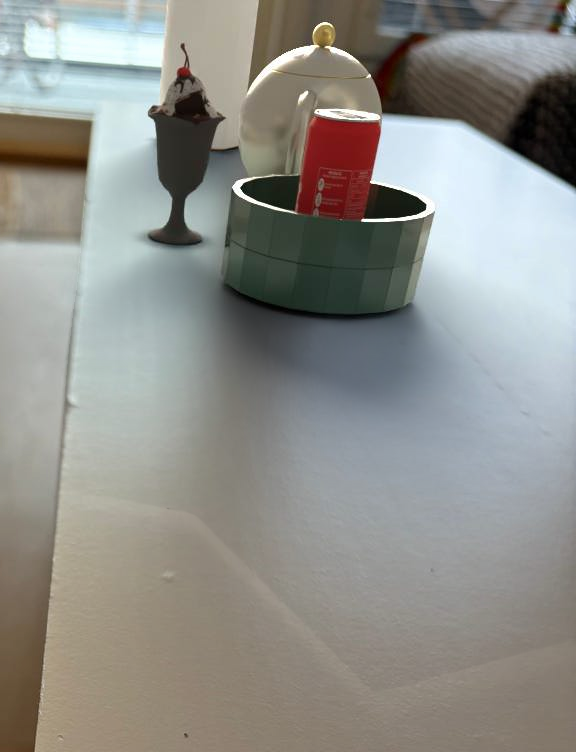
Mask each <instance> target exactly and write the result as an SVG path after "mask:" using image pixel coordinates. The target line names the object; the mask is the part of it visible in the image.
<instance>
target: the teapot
mask: <svg viewBox="0 0 576 752" xmlns="http://www.w3.org/2000/svg"><path fill="white" fill-rule="evenodd" d="M335 39H336V30H335V27H334V26H333V25H332V24H330V23H328V22H322V23H320V24H318V25H317V26H316V27H315V28H314V30H313V33H312V43H313V45H310V46H309V45H307V46H303V47H299V48H296V49H295V48H294V49H293V50H291V51H288V52H286V53H284V54H282V55H281V56H278V57H277V58H276V59H274V60H273V61H271V62H270V63H269V64H268V65H267V66H266V67H265V68H264V69H263V70H262V71H261V72H260V73H259V75H257V77H256V78H255V80H254V81H253V82H252V84H251V86H250V87H249V88H248V90H247V95H246V97H245V99H244V102H243V105H242V108H241V112H240V117H239V123H238V144H239V146H238V150H239V154H240V158H241V161H242V164H243V166H244V168H245V170H246V172H247V174H248V175H249V177H254V176H262V175H270V174H301V172H302V166H303V160H304V154H305V147H306V141H307V135H308V129H309V124H310V123H311V121H312V120H313V118H314V117H315V111H317V110H321V109H344V110H355V111H362V112H367V113H372V114H375V115H378V116H379V117H380V121H379V125H380V129H381V130H382V126H383V125H382V123H383V110H382V102H381V98H380V94H379V91H378V88H377V86H376V83H375V81H374V79H373V77H372V76H371V74H370V73H369V72H368V70H367V68H365V66H364V65H363V64H362V63H361V62H360V61H359V60H357V59H356V58H355V57H353V56H352V55H350V54H349V53H347V52H345V51H343V50H341V49H338V48H336V47H332V45H333V43H334V41H335Z"/></svg>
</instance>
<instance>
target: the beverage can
mask: <svg viewBox="0 0 576 752" xmlns="http://www.w3.org/2000/svg"><path fill="white" fill-rule="evenodd" d="M379 121H380V117H379V116H378V115H375V114H372V113H367V112H362V111H355V110H344V109H321V110H317V111H315V117H314V118H313V120H312V121H311V123H310V124H309V129H308V135H307V141H306V147H305V154H304V160H303V166H302V172H301V178H300V184H299V190H298V196H297V202H296V208H295V212H300V213H305V214H310V215H319V216H327V217H335V218H349V219H363V218H364V213H365V208H366V203H367V198H368V193H369V188H370V183H371V181H372V177H373V173H374V168H375V163H376V159H377V154H378V149H379V144H380V139H381V136H382V135H381V134H382V128H381V129H380V125H379Z"/></svg>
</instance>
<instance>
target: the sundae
mask: <svg viewBox="0 0 576 752" xmlns="http://www.w3.org/2000/svg"><path fill="white" fill-rule="evenodd" d="M180 47H181V49H182V50H183V52H184V53H185V55H186V60H185V64H184V67H181V68H179V69H178V70H177V78H176V79H175V80H174V81H173V82H172V83H171V85H170V86H169V88H168V91H167V94H166V97H165V101H164V102H163V103H162V104H161V105H159V104H158V105H157V104H153V105H151V107H150V108H149V109H148V111H147V116H148V117H149V118H150V119H151V120H152V121H153V123H154V129H155V137H156V138H155V139H156V165H157V166H156V167H157V176H158V181H159V182H160V184H161V185H162V187H163V188H164V189H165V191H167V193H168V194H169V196H170V197H171V209H170V214H169V217H168V220H167V222H166V223H165V224H164V225H163V226H162V227H157V228H154V229H151V230H150V231H149V232H148V234H147V235H148V236H149V238H151V239H152V240H154V241H156V242H161V243H163V244H164V243H165V244H173V245H192V244H196V243H199V242H201V241H202V240H203V236H202V234H201V233H199V232H197V231H195V230H191V229H190V228H189V227H188V225H187V223H186V219H185V218H186V217H185V208H186V207H185V206H186V199H187V198H188V196H189V195H190V194H192V193H193V192H195V191H196V190H197V189H198V188H199V187H200V186H201V184H203V182H204V178H205V175H206V172H207V168H208V166H209V165H208V164H209V160H210V156H211V151H212V150H211V147H212V143H213V139H214V136H215V132H216V129H217V126H218V124H219V123H220V122H221V121H223V120H225V119H226V117H224V116H222V114H221V113H218V112H217V111H216V109H215V108H214V106H213V105H212V104H211V102H210V101H209V100H208V97H207V95H206V90H205V87H204V85H203V83H202V82H201V81H200V80H199V79H198V78H197V77H195V76H194V75H192V74H191V72H190V70H189V59H188V55H187V52H186V50H185V44H184V43H182V44H181V46H180ZM186 64H187V67H186Z"/></svg>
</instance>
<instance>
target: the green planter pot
mask: <svg viewBox="0 0 576 752" xmlns="http://www.w3.org/2000/svg"><path fill="white" fill-rule="evenodd" d="M300 178H301V174H270V175H262V176H254V177H250V176H249V177H246V178H243V179H240V180H237V181H236V182H235V183H234V184H233V186H232V187H231V192H230V198H229V199H230V200H229V207H228V208H229V209H228V216H227V223H226V232H225V240H224V247H223V255H222V264H221V269H220V270H221V271H220V274H221V277H222V279H223V281H224V283H225V284H226V285H228V286H230V287H231V288H232V289H234V290H235V291H236V292H238V293H240V294H243V295H246V296H247V297H250V298H253V299H255V300H258V301H261V302H264V303H267V304H271V305H273V306H278V307H282V308H286V309H289V310H290V309H291V310H295V311H301V312H307V313H314V314H325V315H326V314H327V315H362V314H363V315H364V314H373V313H385V312H390V311H393V310H394V311H395V310H397V309H402V308H403V307H405V306H407V305H408V304H409V303H411V302H412V301H414V299H415V295H416V291H417V288H418V287H417V286H418V282H419V279H420V275H421V270H422V266H423V262H424V258H425V254H426V251H427V246H428V243H429V238H430V233H431V229H432V225H433V222H434V217H435V214H436V204H435V203H434V202H432V201H431V200H430V199H429V198H427V197H426V196H424V195H422V194H418V193H416V192H414V191H411V190H409V189H405V188H402V187H398V186H394V185H390V184H387V183H382V182H377V181H372V180H371V183H370V188H369V193H368V198H367V203H366V208H365V213H364V218H363V219H349V218H335V217H327V216H319V215H310V214H305V213H300V212H295V208H296V202H297V196H298V190H299V184H300Z"/></svg>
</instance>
